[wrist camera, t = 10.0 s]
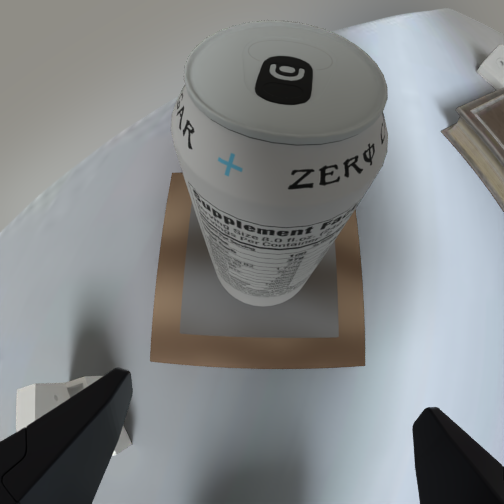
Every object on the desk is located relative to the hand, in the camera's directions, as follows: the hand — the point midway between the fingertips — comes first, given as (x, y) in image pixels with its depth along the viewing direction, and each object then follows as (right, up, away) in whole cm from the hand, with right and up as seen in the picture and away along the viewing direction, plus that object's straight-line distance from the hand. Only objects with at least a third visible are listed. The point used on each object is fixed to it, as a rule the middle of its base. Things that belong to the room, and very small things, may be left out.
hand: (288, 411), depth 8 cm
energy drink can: (0, +4, +13) cm, 13 cm away
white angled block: (-13, -8, +12) cm, 19 cm away
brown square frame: (0, +3, +15) cm, 16 cm away
